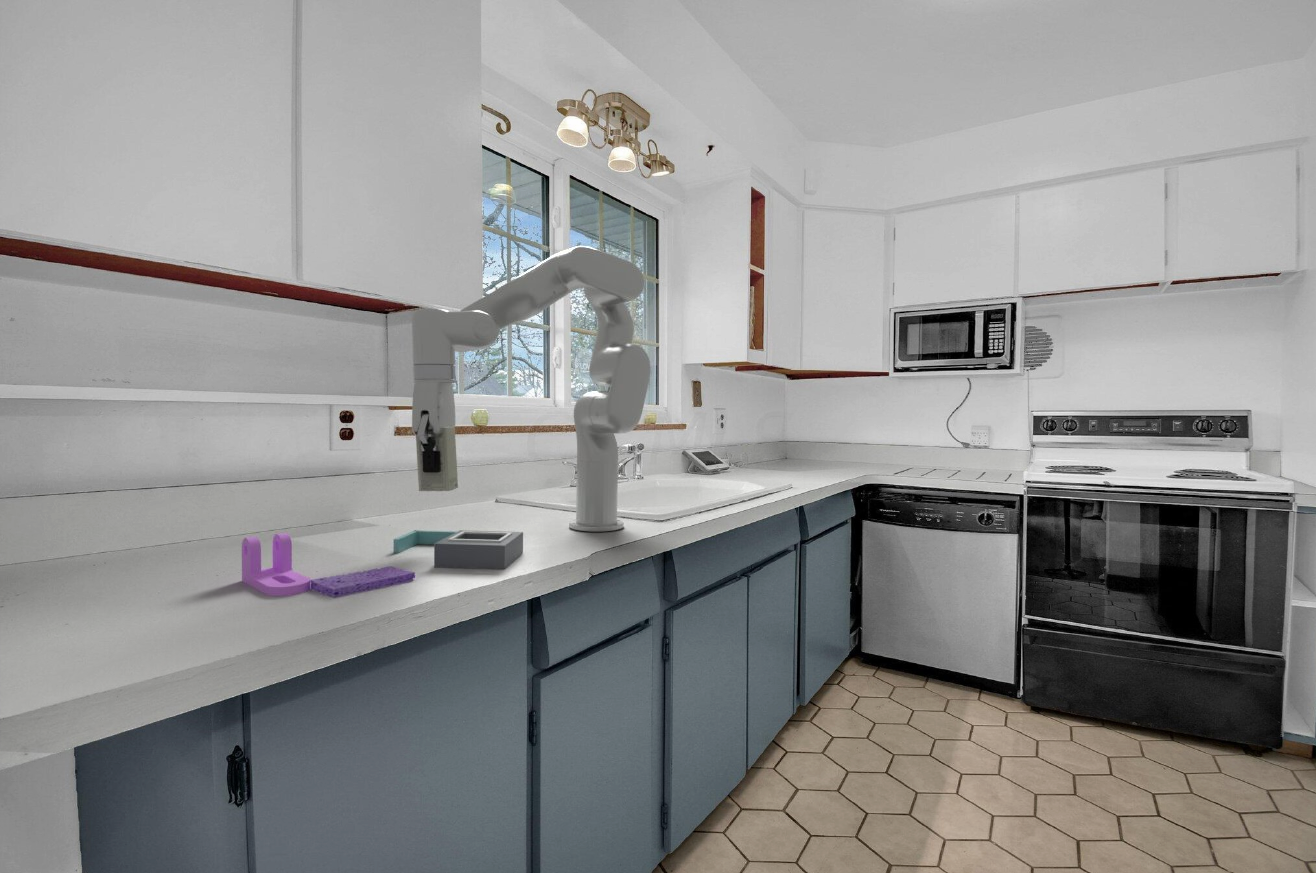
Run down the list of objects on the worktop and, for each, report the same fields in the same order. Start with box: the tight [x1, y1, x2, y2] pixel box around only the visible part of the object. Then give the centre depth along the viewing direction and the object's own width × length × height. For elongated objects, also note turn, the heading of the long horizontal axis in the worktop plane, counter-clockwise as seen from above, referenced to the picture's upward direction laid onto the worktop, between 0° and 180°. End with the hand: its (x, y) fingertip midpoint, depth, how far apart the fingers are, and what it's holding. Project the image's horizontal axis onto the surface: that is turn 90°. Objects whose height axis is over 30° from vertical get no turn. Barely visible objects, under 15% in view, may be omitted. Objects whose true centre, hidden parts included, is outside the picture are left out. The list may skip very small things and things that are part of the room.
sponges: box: [310, 565, 416, 599], centre depth 92 cm, size 7×13×2 cm, turn 143°
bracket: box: [241, 532, 312, 597], centre depth 91 cm, size 13×6×7 cm, turn 51°
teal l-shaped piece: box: [393, 529, 459, 554], centre depth 117 cm, size 9×11×2 cm
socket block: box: [433, 529, 524, 570], centre depth 109 cm, size 12×12×4 cm
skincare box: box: [415, 426, 459, 492], centre depth 117 cm, size 6×4×12 cm
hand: (437, 469), depth 117 cm, fingers closed on skincare box, 4 cm apart
